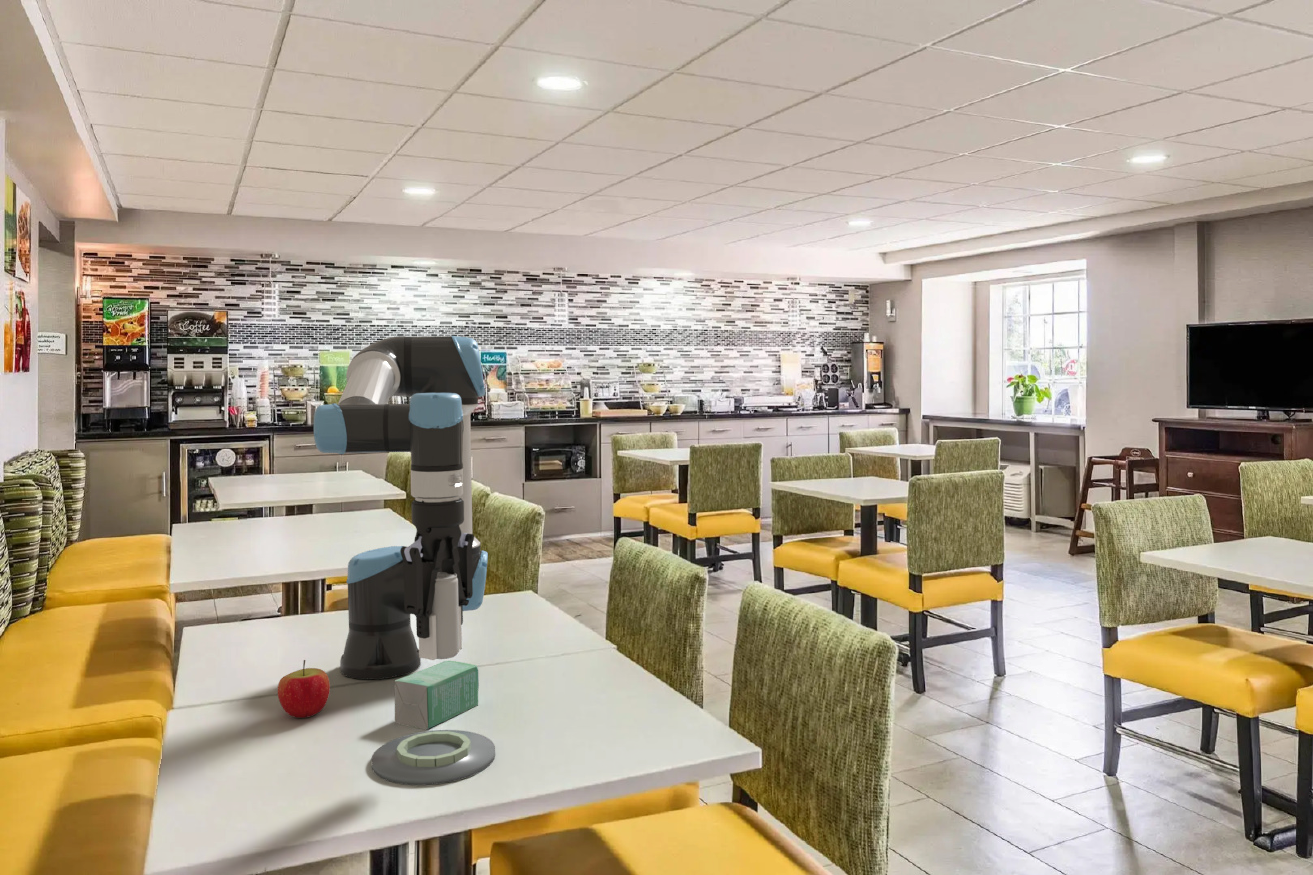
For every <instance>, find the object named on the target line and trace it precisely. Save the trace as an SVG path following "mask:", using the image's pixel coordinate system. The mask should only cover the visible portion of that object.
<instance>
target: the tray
mask: <svg viewBox="0 0 1313 875" xmlns="http://www.w3.org/2000/svg"><path fill="white" fill-rule="evenodd" d="M495 758H496V746H495V743H494V742H493V741H492V740H491V739H490V738H488V737H487V736H485V735H483V734H479V733H476V732H472V731H468V730H458V729H438V730H437V729H436V730H428V731H427V730H426V731H421V732H415V733H410V734H407V735H403V736H400V737H397V738H395V739H392V740H389V741H388V742H385V743H384V744H382V745H381V746H379V747H378V748H377V749H376V750H375V751H374V752H373V754H372V755H371V770H372V772H373V774H375V775H376V776H377V777H378V778H380V779H383V780H385V781H387V782H391V783H395V784H399V785H400V784H401V785H407V786H408V785H410V786H429V785H430V786H431V785H439V784H446V783H450V782H451V783H452V782H456V781H460V780H464V779H467V778H469V777H472V776H474V775H476V774H479V773H480V772H483V770H486V769H487V768H489V766H490V765H492V764H493V762H494V760H495Z"/></svg>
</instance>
